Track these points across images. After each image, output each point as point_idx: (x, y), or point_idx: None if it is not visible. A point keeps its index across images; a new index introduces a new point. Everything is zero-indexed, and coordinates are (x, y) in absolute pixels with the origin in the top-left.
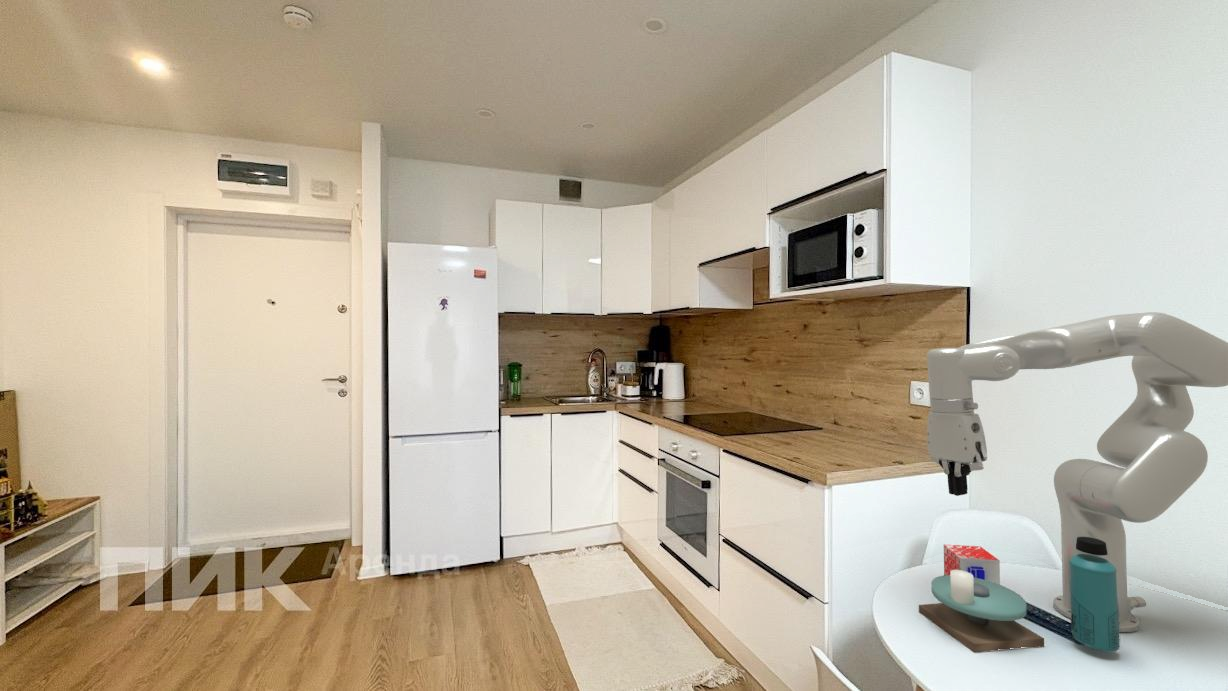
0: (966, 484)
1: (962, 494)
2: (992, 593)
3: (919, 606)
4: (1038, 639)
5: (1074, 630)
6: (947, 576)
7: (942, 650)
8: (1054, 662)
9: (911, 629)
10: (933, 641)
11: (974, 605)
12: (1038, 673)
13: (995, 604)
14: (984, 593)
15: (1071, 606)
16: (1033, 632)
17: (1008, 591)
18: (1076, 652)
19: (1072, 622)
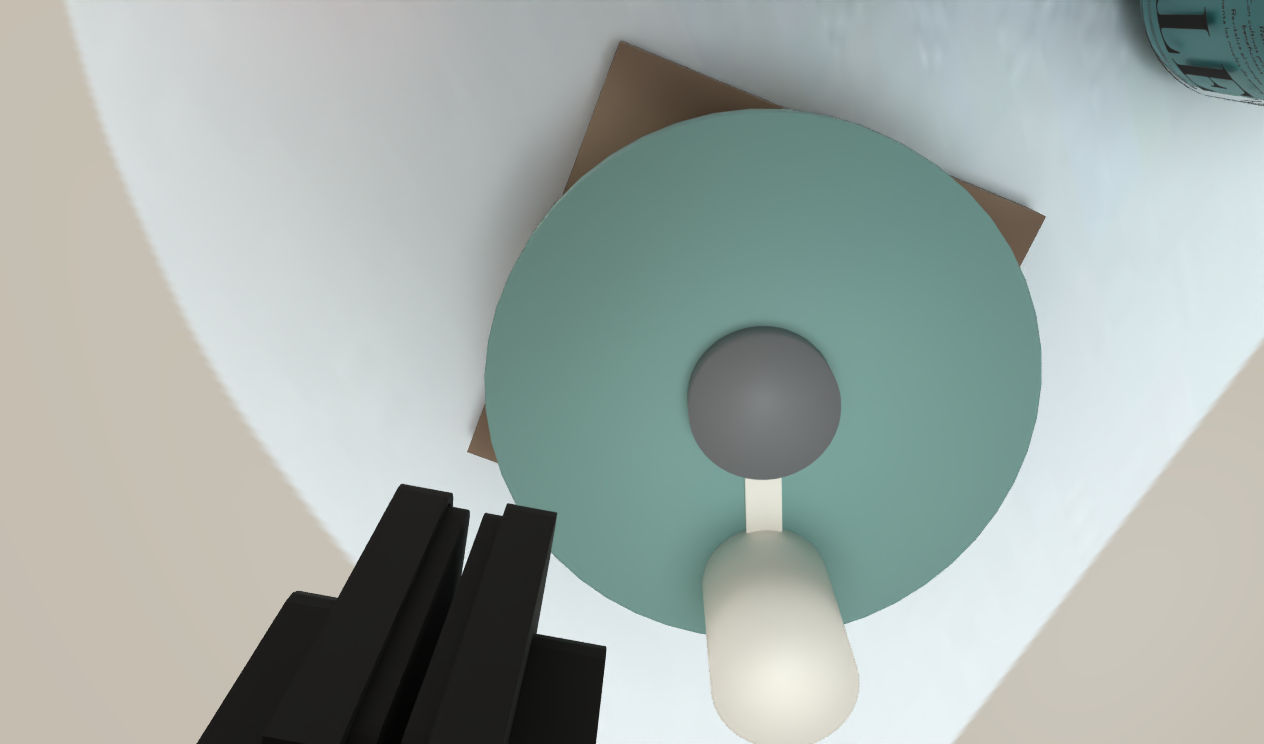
0: (593, 738)
1: (538, 619)
2: (829, 321)
3: (473, 450)
4: (1026, 251)
5: (1190, 79)
6: (514, 318)
7: None
8: (1106, 328)
9: (568, 628)
10: (687, 638)
11: (840, 590)
12: (1085, 493)
13: (909, 467)
14: (830, 440)
15: (1244, 53)
16: (986, 195)
17: (880, 184)
18: (1154, 114)
19: (1199, 69)
